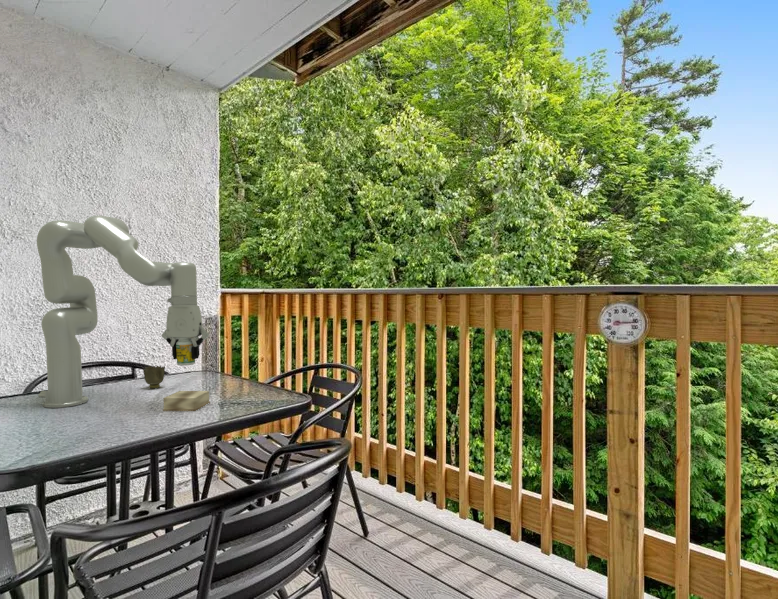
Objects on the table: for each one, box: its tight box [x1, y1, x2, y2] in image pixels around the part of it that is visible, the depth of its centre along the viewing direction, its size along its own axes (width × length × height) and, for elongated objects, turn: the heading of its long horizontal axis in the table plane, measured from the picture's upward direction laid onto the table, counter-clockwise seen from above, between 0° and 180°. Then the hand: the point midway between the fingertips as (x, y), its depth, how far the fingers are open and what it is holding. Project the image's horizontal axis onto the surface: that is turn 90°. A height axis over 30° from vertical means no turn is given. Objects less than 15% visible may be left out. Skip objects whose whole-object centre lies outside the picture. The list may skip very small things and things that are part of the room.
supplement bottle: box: [176, 338, 196, 367], centre depth 158 cm, size 5×5×10 cm
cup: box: [142, 365, 166, 390], centre depth 187 cm, size 8×7×8 cm
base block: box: [162, 390, 211, 412], centre depth 159 cm, size 10×10×4 cm
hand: (185, 358), depth 158 cm, fingers closed on supplement bottle, 5 cm apart
